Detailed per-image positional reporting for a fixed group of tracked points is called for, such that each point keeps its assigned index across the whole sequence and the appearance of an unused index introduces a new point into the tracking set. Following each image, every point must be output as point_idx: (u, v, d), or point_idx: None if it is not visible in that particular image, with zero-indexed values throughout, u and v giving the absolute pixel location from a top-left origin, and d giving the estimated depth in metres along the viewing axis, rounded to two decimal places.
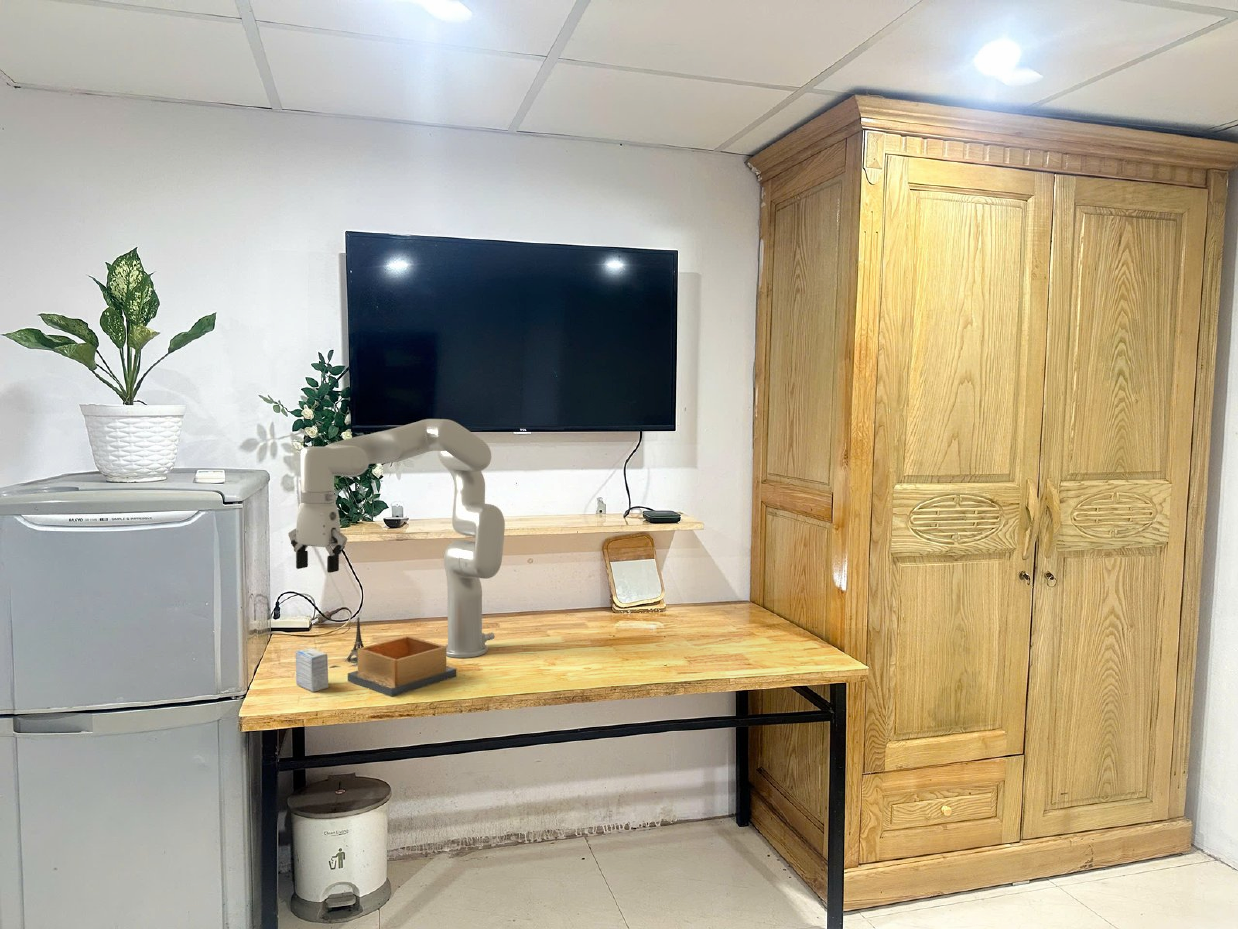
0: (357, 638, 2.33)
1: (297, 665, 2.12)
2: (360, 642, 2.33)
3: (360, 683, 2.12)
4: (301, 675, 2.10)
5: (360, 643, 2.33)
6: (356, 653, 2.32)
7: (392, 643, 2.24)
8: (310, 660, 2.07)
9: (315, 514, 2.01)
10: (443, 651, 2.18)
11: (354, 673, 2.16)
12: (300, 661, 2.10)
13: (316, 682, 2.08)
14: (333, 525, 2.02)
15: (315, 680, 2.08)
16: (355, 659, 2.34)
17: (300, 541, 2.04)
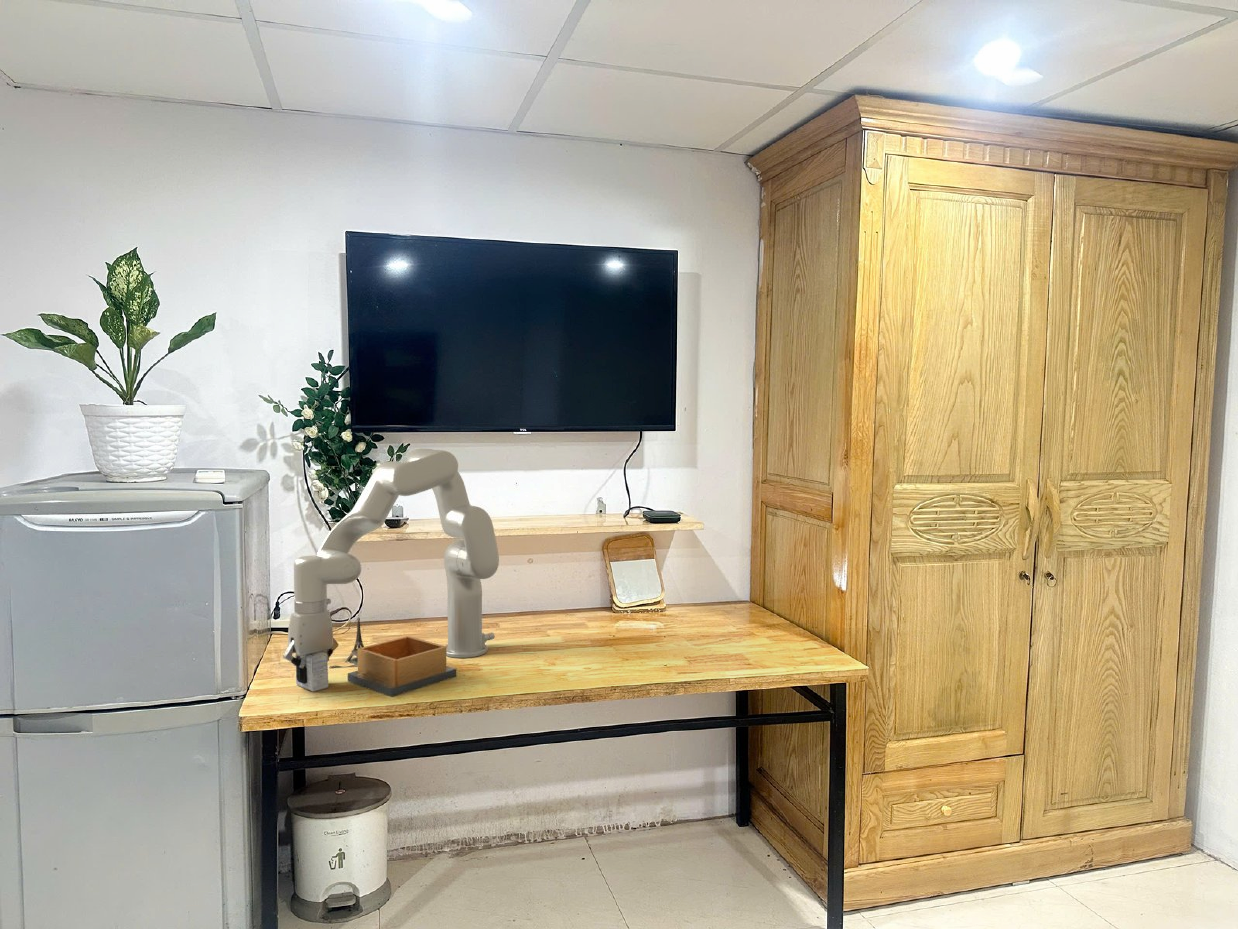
0: (357, 638, 2.32)
1: None
2: (360, 642, 2.33)
3: (360, 683, 2.12)
4: None
5: (360, 643, 2.33)
6: (356, 653, 2.32)
7: (392, 643, 2.24)
8: (310, 660, 2.07)
9: (323, 620, 2.10)
10: (443, 651, 2.18)
11: (354, 673, 2.16)
12: None
13: (316, 682, 2.08)
14: None
15: (315, 680, 2.08)
16: (355, 659, 2.34)
17: (303, 652, 2.07)
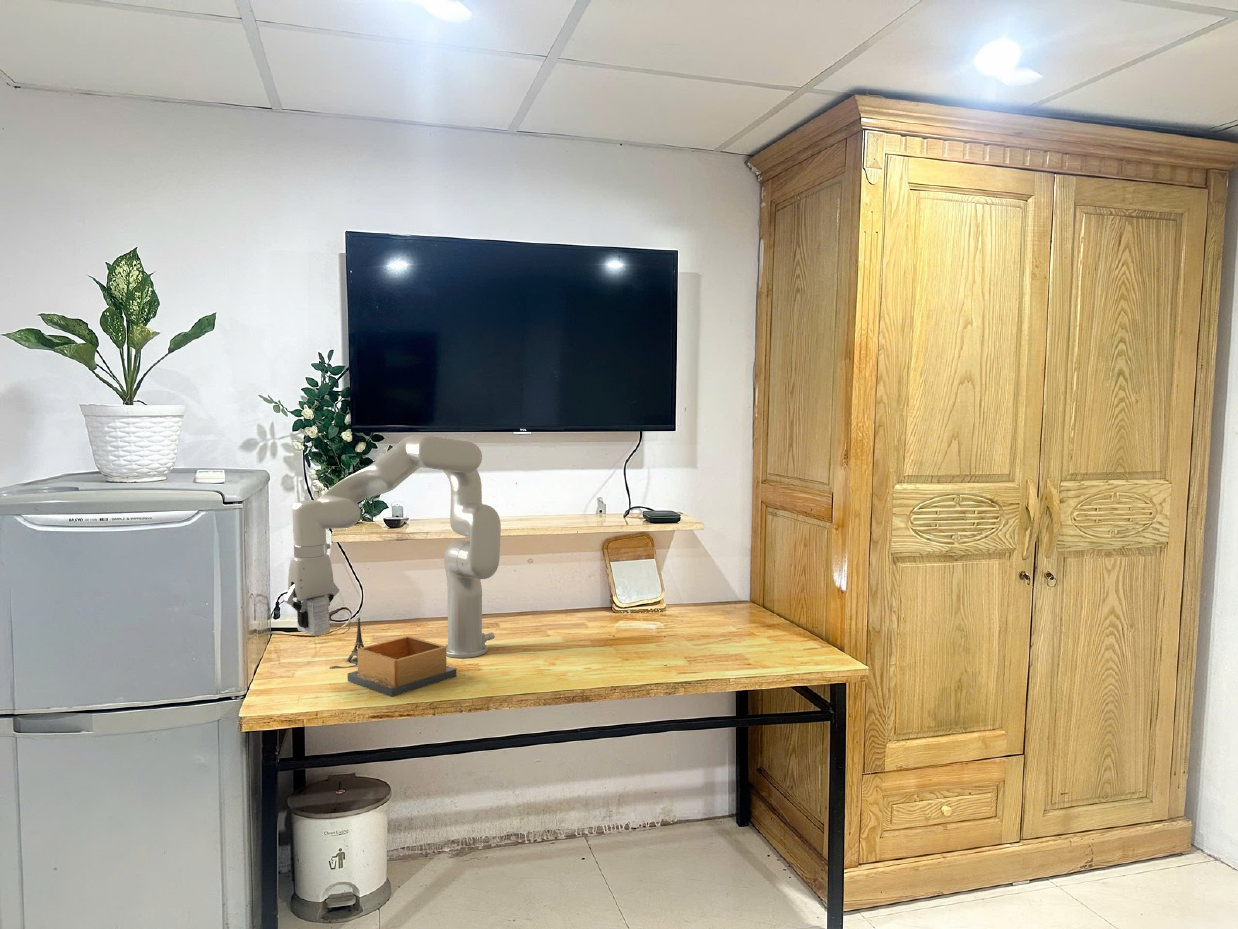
0: (358, 639, 2.32)
1: None
2: (361, 643, 2.33)
3: (360, 683, 2.12)
4: None
5: (361, 644, 2.32)
6: (357, 654, 2.31)
7: (392, 643, 2.24)
8: (311, 604, 2.06)
9: (323, 565, 2.09)
10: (443, 651, 2.18)
11: (354, 673, 2.16)
12: None
13: (318, 626, 2.08)
14: None
15: (316, 624, 2.07)
16: (355, 660, 2.33)
17: (304, 596, 2.06)
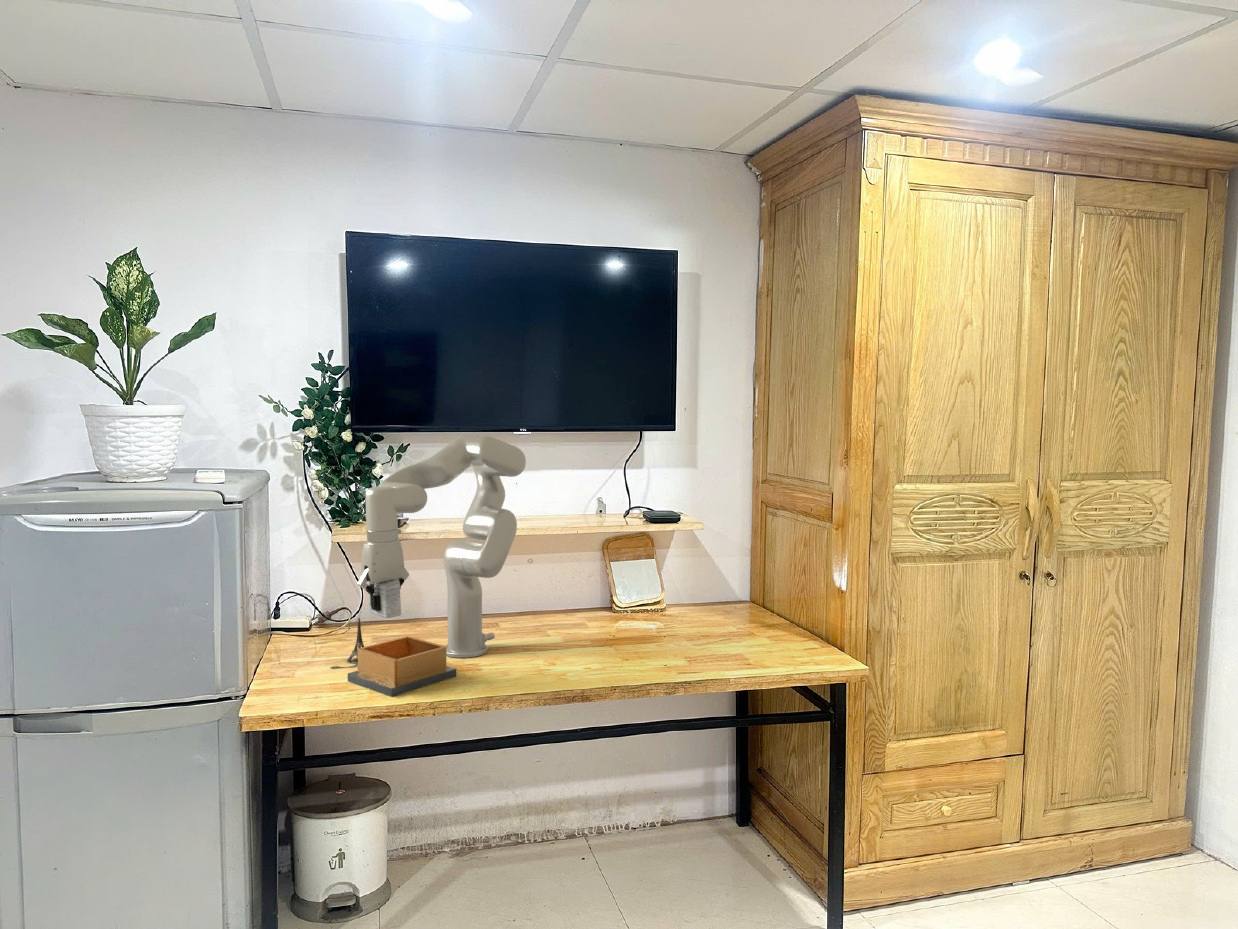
0: (358, 639, 2.32)
1: None
2: (361, 643, 2.32)
3: (360, 683, 2.12)
4: None
5: (361, 644, 2.32)
6: (357, 654, 2.31)
7: (392, 643, 2.24)
8: (383, 587, 2.11)
9: (394, 550, 2.14)
10: (443, 651, 2.18)
11: (354, 673, 2.16)
12: None
13: (390, 609, 2.13)
14: None
15: (389, 607, 2.12)
16: (356, 660, 2.33)
17: (377, 580, 2.11)
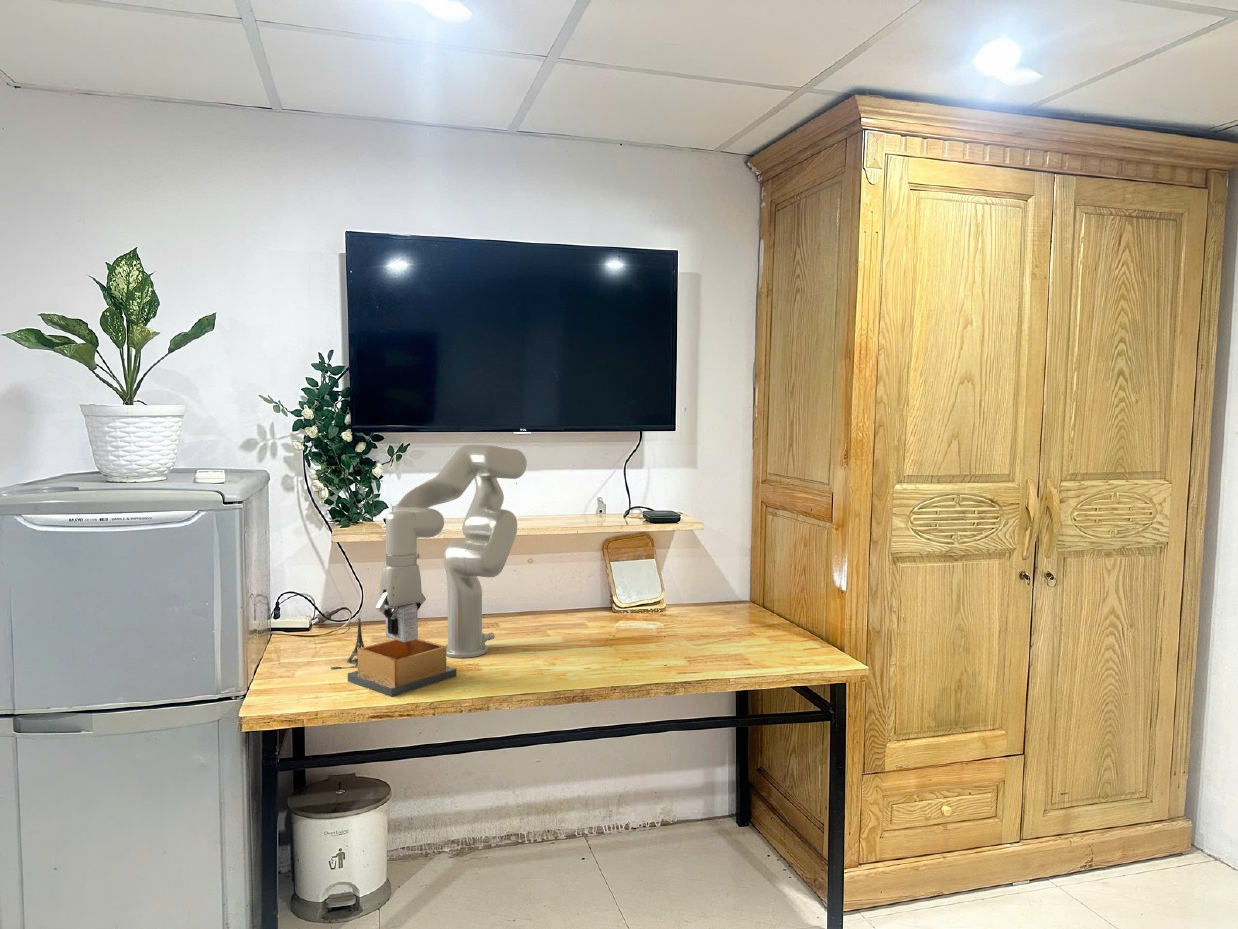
0: (358, 639, 2.32)
1: None
2: (361, 643, 2.32)
3: (360, 683, 2.12)
4: None
5: (361, 644, 2.32)
6: (357, 654, 2.31)
7: (392, 643, 2.24)
8: (402, 611, 2.13)
9: (413, 574, 2.16)
10: (443, 651, 2.18)
11: (354, 673, 2.16)
12: None
13: (407, 633, 2.14)
14: None
15: (406, 631, 2.13)
16: (356, 660, 2.33)
17: (395, 604, 2.13)
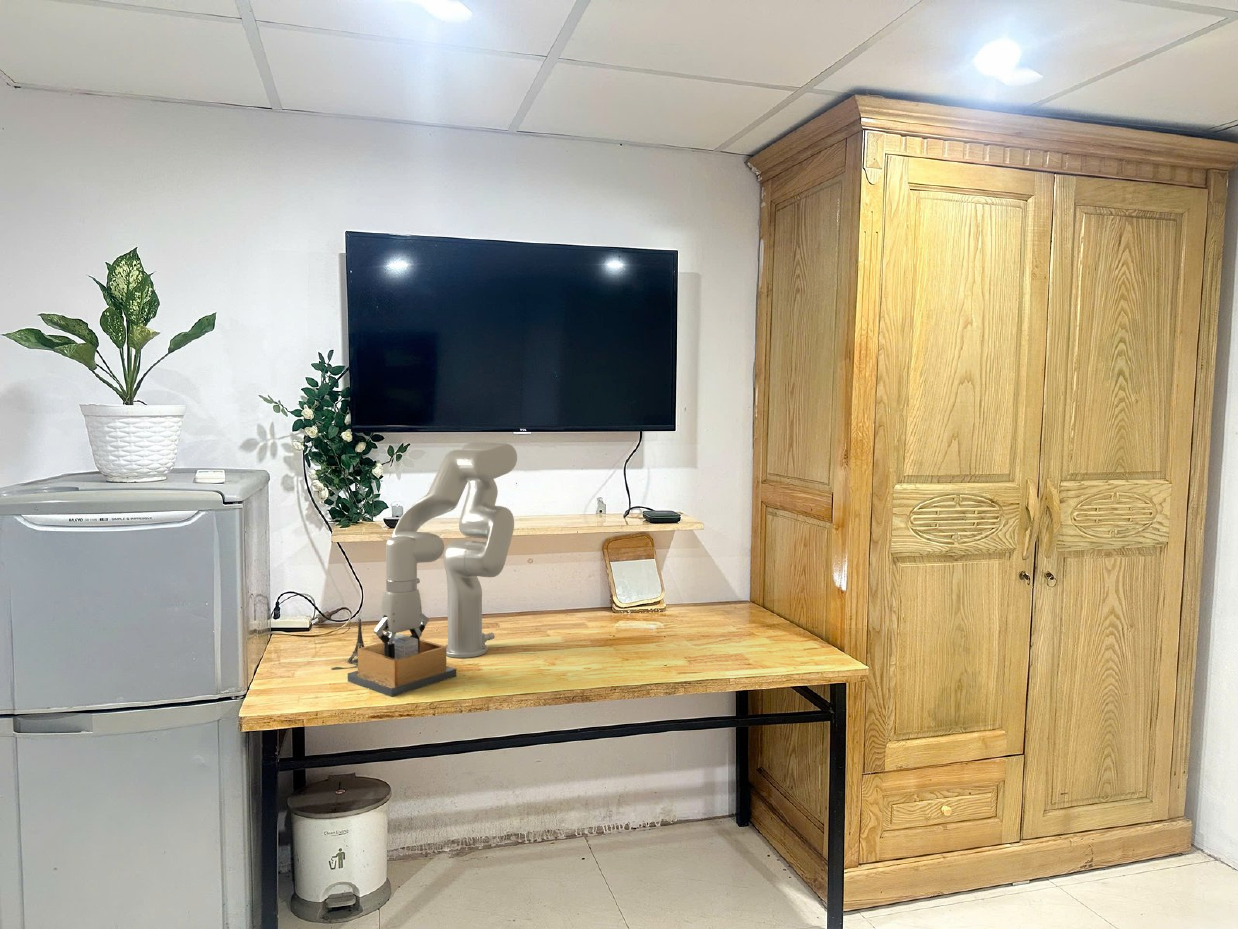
0: (358, 639, 2.31)
1: None
2: (361, 643, 2.32)
3: (360, 683, 2.12)
4: None
5: (361, 644, 2.32)
6: None
7: None
8: (403, 645, 2.13)
9: (413, 599, 2.17)
10: (443, 651, 2.18)
11: (354, 673, 2.16)
12: None
13: None
14: None
15: None
16: (356, 661, 2.33)
17: (396, 630, 2.13)
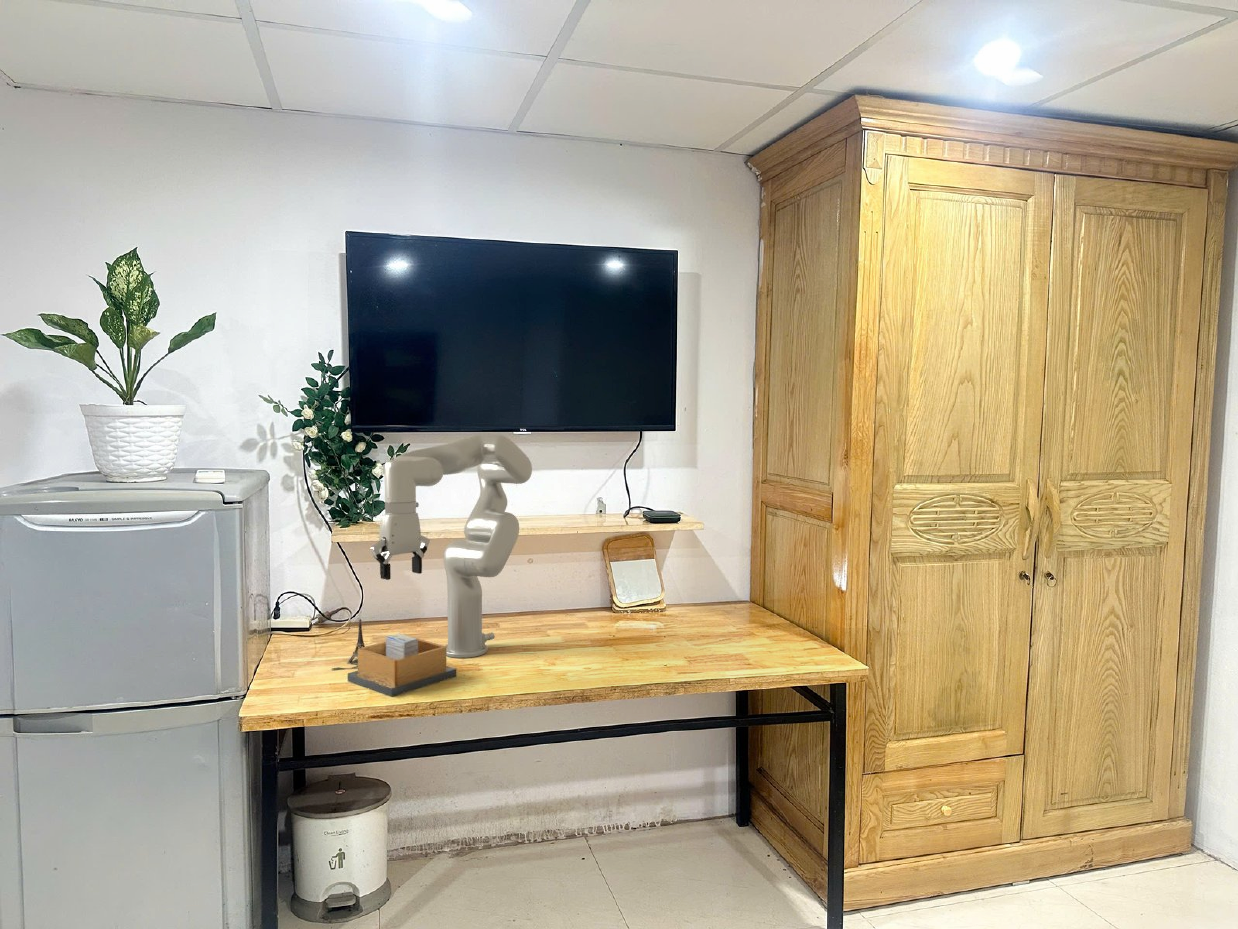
0: (359, 640, 2.31)
1: (387, 650, 2.18)
2: (362, 644, 2.31)
3: (360, 683, 2.12)
4: None
5: (362, 645, 2.31)
6: None
7: None
8: (403, 645, 2.13)
9: (412, 522, 2.16)
10: (443, 651, 2.18)
11: (354, 673, 2.16)
12: (391, 646, 2.17)
13: None
14: None
15: None
16: (357, 661, 2.32)
17: (395, 551, 2.12)
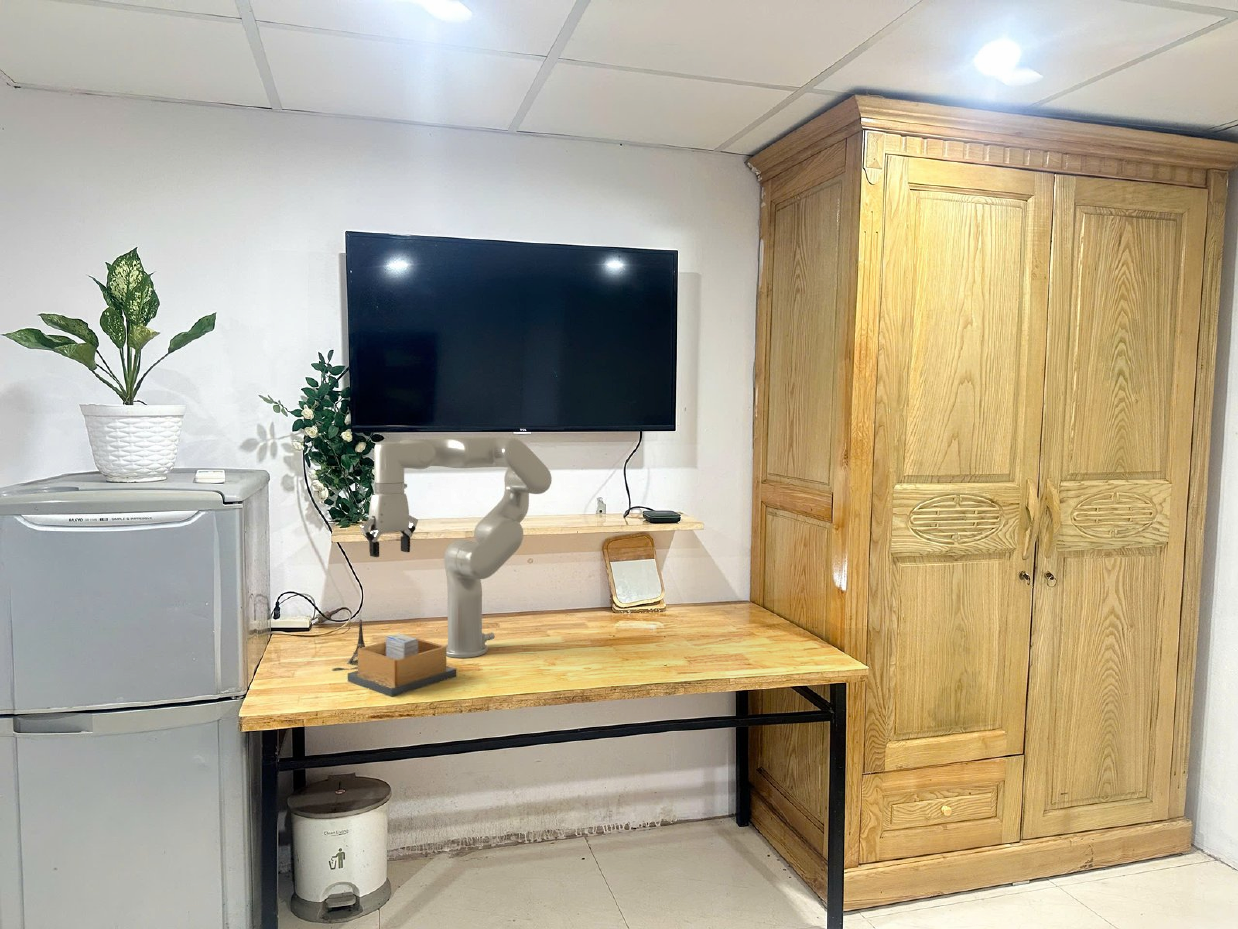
0: (359, 640, 2.31)
1: (387, 650, 2.18)
2: (362, 644, 2.31)
3: (360, 683, 2.12)
4: None
5: (362, 645, 2.31)
6: None
7: None
8: (403, 645, 2.13)
9: (401, 502, 2.24)
10: (443, 651, 2.18)
11: (354, 673, 2.16)
12: (391, 646, 2.17)
13: None
14: None
15: None
16: (357, 661, 2.32)
17: (384, 530, 2.21)
